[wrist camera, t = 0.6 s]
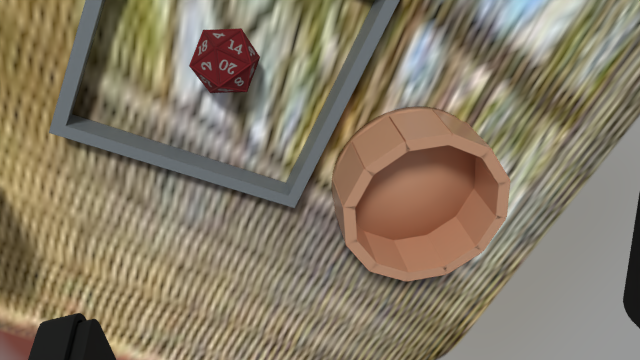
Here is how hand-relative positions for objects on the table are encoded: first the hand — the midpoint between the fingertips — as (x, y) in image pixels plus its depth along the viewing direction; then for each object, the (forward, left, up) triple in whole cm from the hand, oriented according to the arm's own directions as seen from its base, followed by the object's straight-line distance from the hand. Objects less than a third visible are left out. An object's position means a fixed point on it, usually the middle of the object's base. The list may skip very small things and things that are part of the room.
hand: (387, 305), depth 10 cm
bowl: (+9, +16, -29) cm, 34 cm away
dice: (+5, 0, -29) cm, 30 cm away
